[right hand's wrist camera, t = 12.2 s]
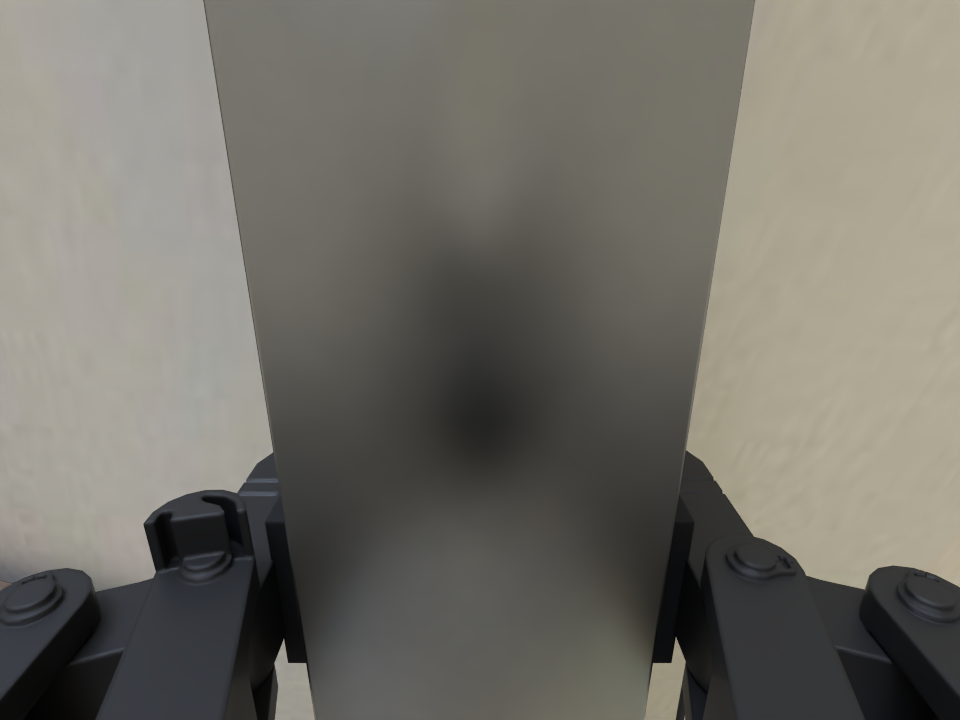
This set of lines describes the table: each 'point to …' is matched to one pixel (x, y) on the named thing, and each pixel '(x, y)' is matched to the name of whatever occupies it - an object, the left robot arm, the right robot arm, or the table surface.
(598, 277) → the bar
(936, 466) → the table surface
